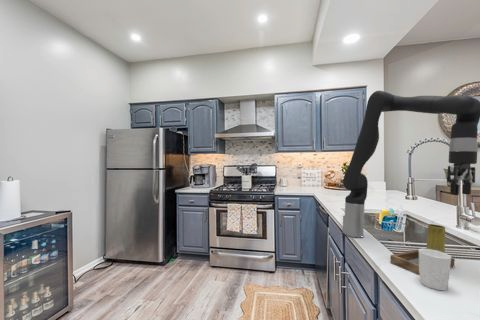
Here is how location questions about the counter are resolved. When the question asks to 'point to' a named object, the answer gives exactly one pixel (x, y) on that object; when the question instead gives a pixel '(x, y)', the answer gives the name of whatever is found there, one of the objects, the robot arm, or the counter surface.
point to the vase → (436, 238)
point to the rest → (409, 260)
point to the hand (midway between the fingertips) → (460, 194)
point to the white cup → (434, 268)
